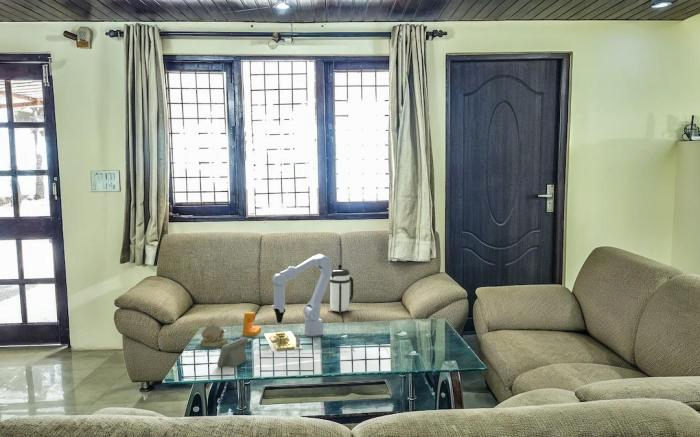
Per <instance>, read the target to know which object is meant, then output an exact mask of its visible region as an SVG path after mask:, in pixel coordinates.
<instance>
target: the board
mask: <svg viewBox="0 0 700 437" xmlns="http://www.w3.org/2000/svg"><path fill="white" fill-rule="evenodd" d="M283 332H284V333H285V334H287V336H288V337H289V340H288V342H292V344H293V345H294V347H295V349H294V350H299V349H303V347H302V345H301V344H300V346H298V347H297V346H296V336H295V334H294V333H293V332H292V330H289V331H283ZM263 335H264V337H265V339H266V342H267V343H268V345H269V348H270V349H271V351H272V352H277V351H276V349H275V347H274V344H275V343H276V342H272V341H271V339H270V335H276V332H269V333H268V332H267V333H266V332H265V333H263ZM289 350H291V351H292V349H288V350H287V351H289ZM279 351H282V350H279ZM279 351H278V352H279Z"/></svg>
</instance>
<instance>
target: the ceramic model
mask: <svg viewBox="0 0 700 437" xmlns="http://www.w3.org/2000/svg"><path fill="white" fill-rule="evenodd" d="M224 336H225V330H224V329H223V328H222V327H221V326H219V325H216V324H215V323H214V324H211V325H210V324H208V325H207V326H206V327H205V328H204V329H203V330H202V331H201V337H202V340H200V345H201V346H202V347H203V346H204V347H212V348H213V347H215V348H218V347H220V348H222V347H223V346H224V345H226V344H228V339H227V338H224Z"/></svg>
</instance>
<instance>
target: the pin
mask: <svg viewBox="0 0 700 437" xmlns="http://www.w3.org/2000/svg"><path fill="white" fill-rule="evenodd" d="M294 336H295V338H296V346H297V347H298V346H300V345H301V340H300V338H301V337H300V336H301V333H295V334H294Z"/></svg>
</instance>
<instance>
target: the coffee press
mask: <svg viewBox="0 0 700 437" xmlns="http://www.w3.org/2000/svg"><path fill="white" fill-rule="evenodd" d="M350 275H351V272H350V270H349V269H348V268H346V267H343V266H342V265H341V264H338V266H337V267H335V268H332V274H331V277H330V280H329V306H328V309H327V312H328V313H330V312H331V311H334V312H338V315H339V316H342V312H346V311H348V312H349V313H351V312H352V310H350V308H351V306H350V305H351V304H350V301H352V300H353V298H354V279H353V277H351V276H350Z"/></svg>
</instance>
